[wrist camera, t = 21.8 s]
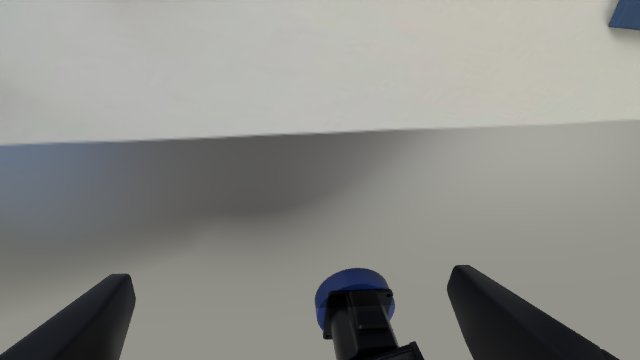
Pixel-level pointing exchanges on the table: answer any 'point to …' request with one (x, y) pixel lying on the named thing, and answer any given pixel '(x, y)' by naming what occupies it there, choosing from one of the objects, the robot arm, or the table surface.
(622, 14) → the rubber mat
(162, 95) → the table surface
